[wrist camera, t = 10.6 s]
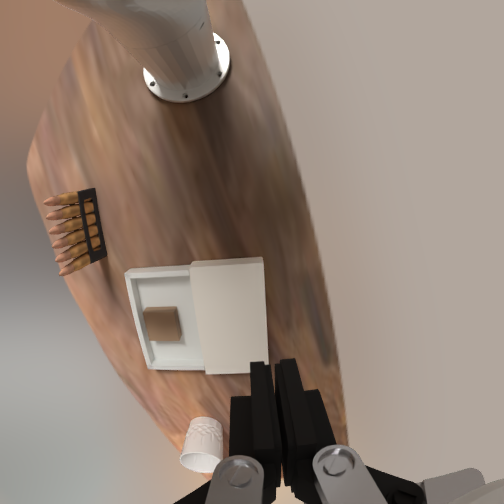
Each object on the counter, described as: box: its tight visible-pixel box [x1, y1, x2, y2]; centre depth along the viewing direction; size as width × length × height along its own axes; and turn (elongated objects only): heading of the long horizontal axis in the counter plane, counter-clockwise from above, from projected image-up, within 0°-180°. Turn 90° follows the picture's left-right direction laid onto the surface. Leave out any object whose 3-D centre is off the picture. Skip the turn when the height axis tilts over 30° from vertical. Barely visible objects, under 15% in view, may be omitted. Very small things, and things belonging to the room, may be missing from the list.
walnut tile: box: [143, 306, 182, 341], centre depth 41 cm, size 5×5×2 cm
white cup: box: [180, 416, 223, 473], centre depth 44 cm, size 8×8×10 cm
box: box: [124, 265, 205, 370], centre depth 41 cm, size 17×10×2 cm, turn 4°
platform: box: [189, 257, 269, 374], centre depth 41 cm, size 18×10×3 cm, turn 4°
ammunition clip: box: [44, 188, 107, 276], centre depth 33 cm, size 11×2×12 cm, turn 7°
